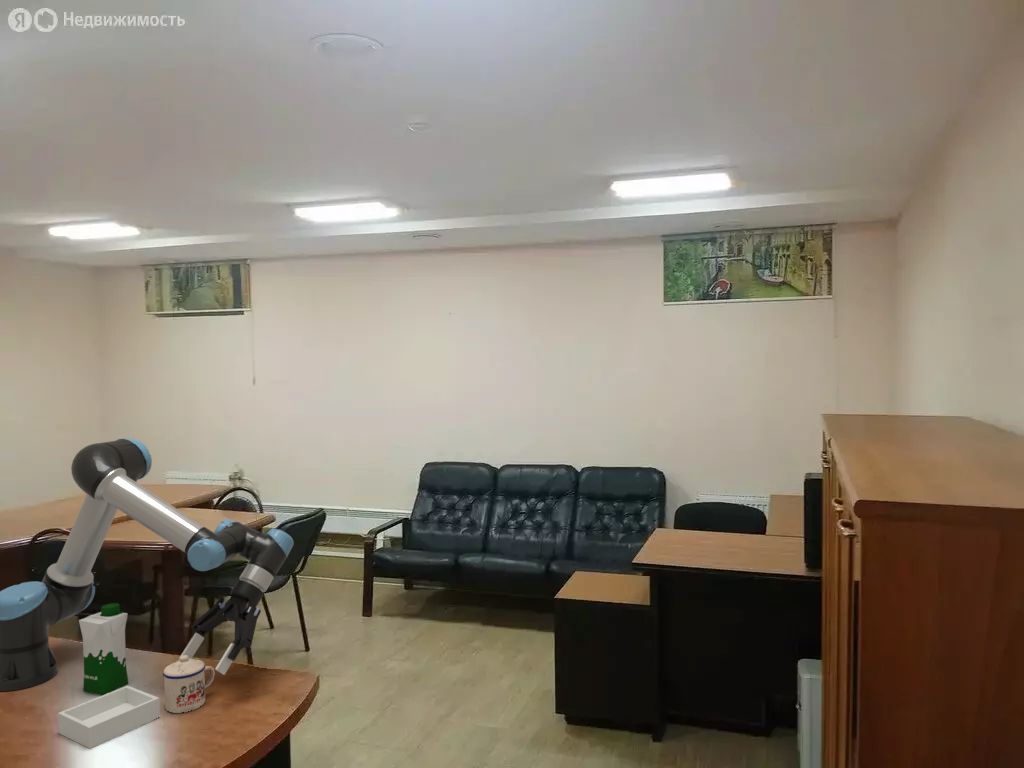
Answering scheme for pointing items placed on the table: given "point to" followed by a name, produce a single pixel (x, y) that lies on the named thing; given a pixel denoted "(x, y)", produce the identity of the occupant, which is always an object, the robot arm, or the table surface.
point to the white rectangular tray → (108, 716)
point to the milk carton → (104, 650)
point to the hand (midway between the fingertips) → (201, 666)
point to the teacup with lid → (185, 684)
